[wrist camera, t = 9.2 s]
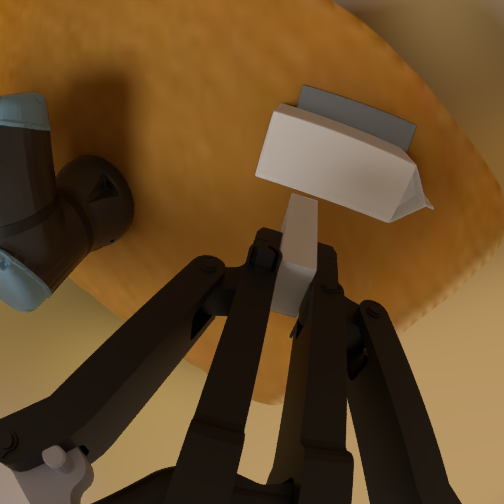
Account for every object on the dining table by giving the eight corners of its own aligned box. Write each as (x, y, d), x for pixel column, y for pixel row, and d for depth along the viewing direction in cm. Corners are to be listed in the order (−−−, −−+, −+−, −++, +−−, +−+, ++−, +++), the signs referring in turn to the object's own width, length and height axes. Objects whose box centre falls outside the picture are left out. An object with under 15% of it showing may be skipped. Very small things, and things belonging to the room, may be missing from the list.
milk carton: (271, 109, 27) (448, 180, 27) (280, 102, 33) (428, 160, 33) (252, 176, 31) (419, 236, 31) (264, 157, 37) (405, 208, 37)
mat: (278, 175, 39) (277, 177, 38) (303, 84, 32) (302, 85, 32) (381, 208, 38) (382, 211, 38) (414, 124, 32) (416, 125, 31)
